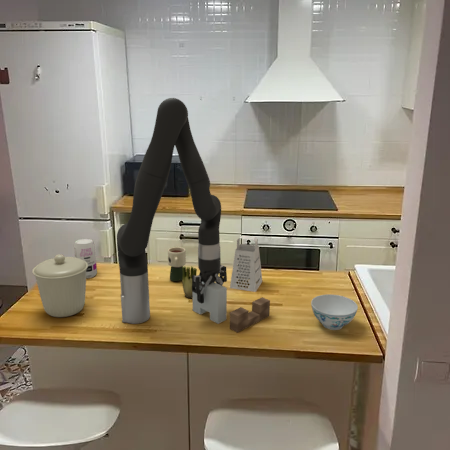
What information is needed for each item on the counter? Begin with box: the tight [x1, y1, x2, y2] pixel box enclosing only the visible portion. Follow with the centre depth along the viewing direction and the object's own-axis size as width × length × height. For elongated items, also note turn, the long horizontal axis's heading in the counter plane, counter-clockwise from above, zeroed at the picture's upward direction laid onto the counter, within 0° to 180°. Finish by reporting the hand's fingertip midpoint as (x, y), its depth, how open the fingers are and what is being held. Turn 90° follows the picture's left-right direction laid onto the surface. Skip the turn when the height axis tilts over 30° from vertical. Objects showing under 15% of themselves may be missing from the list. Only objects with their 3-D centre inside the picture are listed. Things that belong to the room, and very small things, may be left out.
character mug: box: [167, 246, 187, 282], centre depth 189 cm, size 11×7×13 cm, turn 3°
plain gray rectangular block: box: [192, 282, 228, 325], centre depth 161 cm, size 4×13×12 cm, turn 44°
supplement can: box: [73, 238, 98, 279], centre depth 193 cm, size 8×8×15 cm
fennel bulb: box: [181, 265, 198, 299], centre depth 175 cm, size 6×5×12 cm
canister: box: [31, 253, 88, 318], centre depth 162 cm, size 18×18×21 cm
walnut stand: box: [229, 296, 271, 333], centre depth 157 cm, size 16×4×6 cm, turn 134°
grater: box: [229, 235, 263, 293], centre depth 184 cm, size 10×10×20 cm
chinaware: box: [310, 293, 359, 331], centre depth 155 cm, size 15×15×8 cm
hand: (210, 298), depth 161 cm, fingers open, 8 cm apart
